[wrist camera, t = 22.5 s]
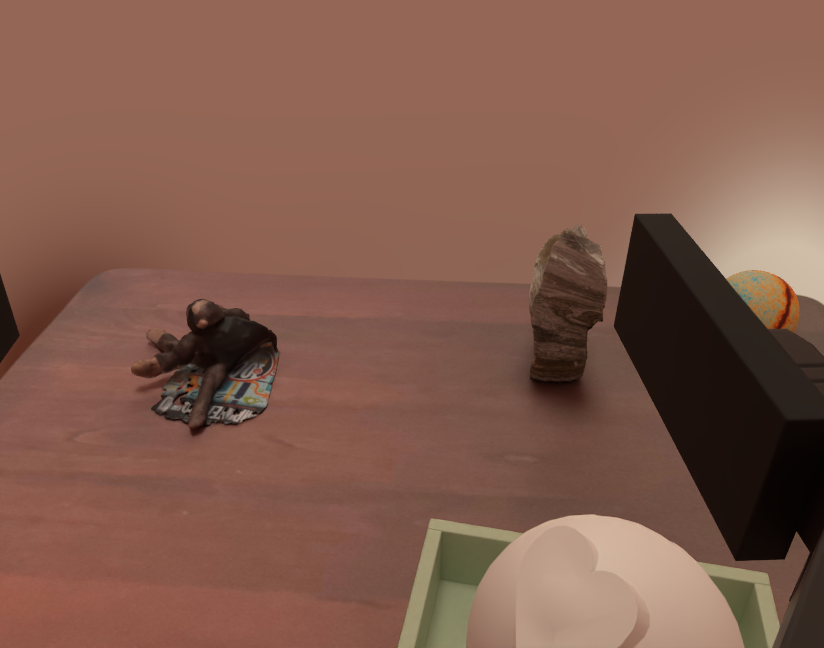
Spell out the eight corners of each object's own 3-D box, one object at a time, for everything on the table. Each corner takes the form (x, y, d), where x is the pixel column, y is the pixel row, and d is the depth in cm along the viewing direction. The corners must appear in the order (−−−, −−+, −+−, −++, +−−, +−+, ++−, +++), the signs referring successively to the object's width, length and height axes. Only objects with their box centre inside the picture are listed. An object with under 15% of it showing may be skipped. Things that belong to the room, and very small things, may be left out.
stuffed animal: (237, 295, 69) (280, 272, 58) (271, 397, 69) (319, 392, 58) (105, 333, 63) (126, 315, 52) (143, 444, 63) (171, 448, 53)
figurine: (513, 606, 41) (540, 388, 33) (729, 704, 37) (820, 477, 29) (414, 794, 33) (418, 563, 25) (676, 951, 28) (784, 729, 20)
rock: (544, 325, 67) (563, 165, 59) (610, 339, 65) (639, 175, 57) (506, 409, 57) (523, 229, 49) (583, 427, 55) (614, 244, 47)
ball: (708, 367, 62) (728, 293, 58) (693, 322, 68) (709, 253, 64) (797, 374, 61) (823, 300, 57) (774, 328, 67) (796, 258, 63)
